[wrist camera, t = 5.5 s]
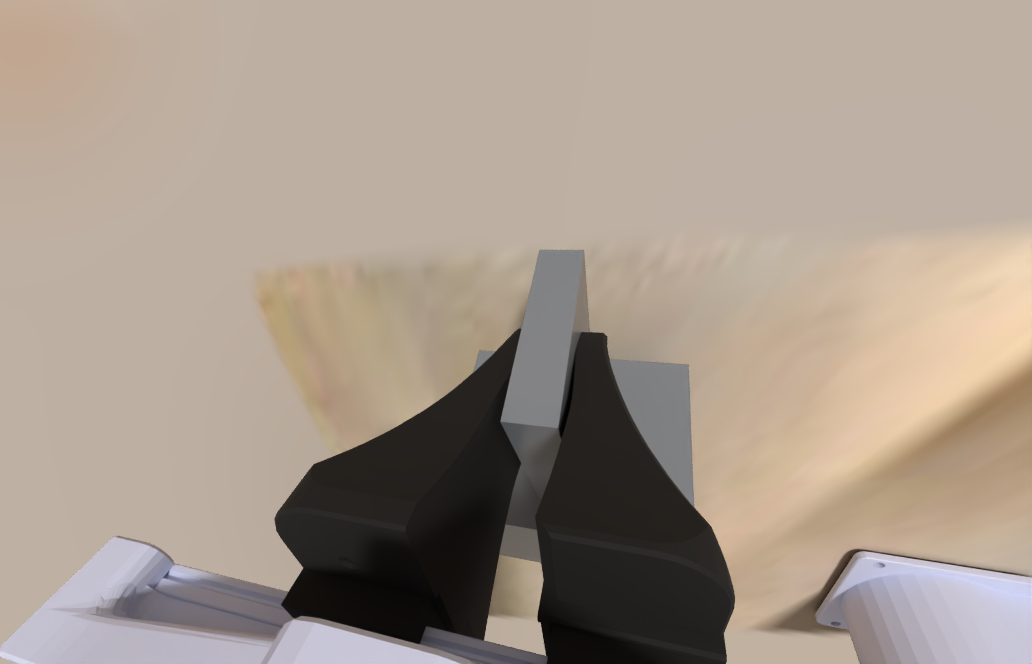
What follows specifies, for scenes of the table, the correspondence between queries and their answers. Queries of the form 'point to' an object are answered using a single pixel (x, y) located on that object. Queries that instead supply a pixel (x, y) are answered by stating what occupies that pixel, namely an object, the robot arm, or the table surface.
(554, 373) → the grey block with fin
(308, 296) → the table surface
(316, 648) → the robot arm
